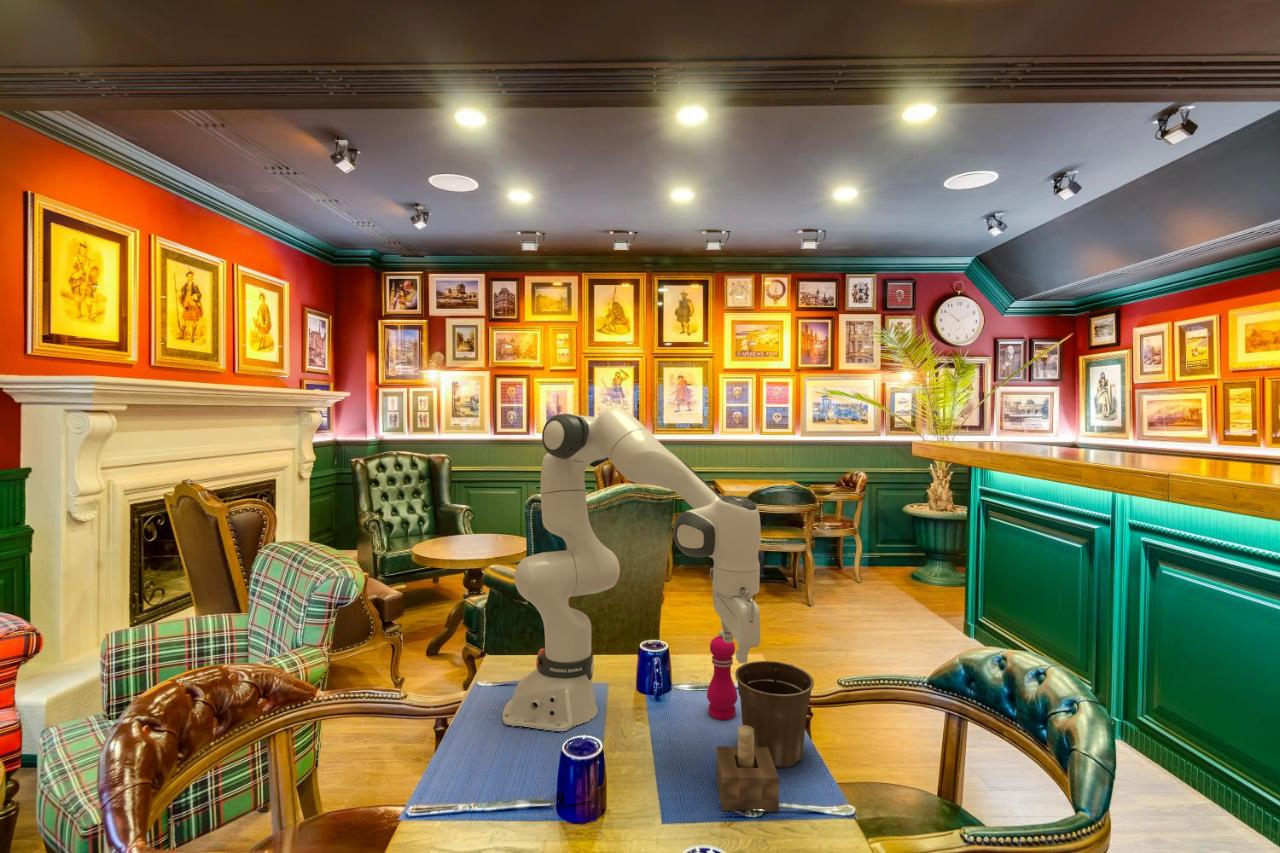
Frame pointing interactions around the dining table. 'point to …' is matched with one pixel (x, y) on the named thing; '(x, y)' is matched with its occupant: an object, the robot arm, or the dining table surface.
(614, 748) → the dining table surface
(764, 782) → the bore block
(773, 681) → the plant pot
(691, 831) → the dining table surface
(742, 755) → the pin
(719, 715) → the pepper mill
